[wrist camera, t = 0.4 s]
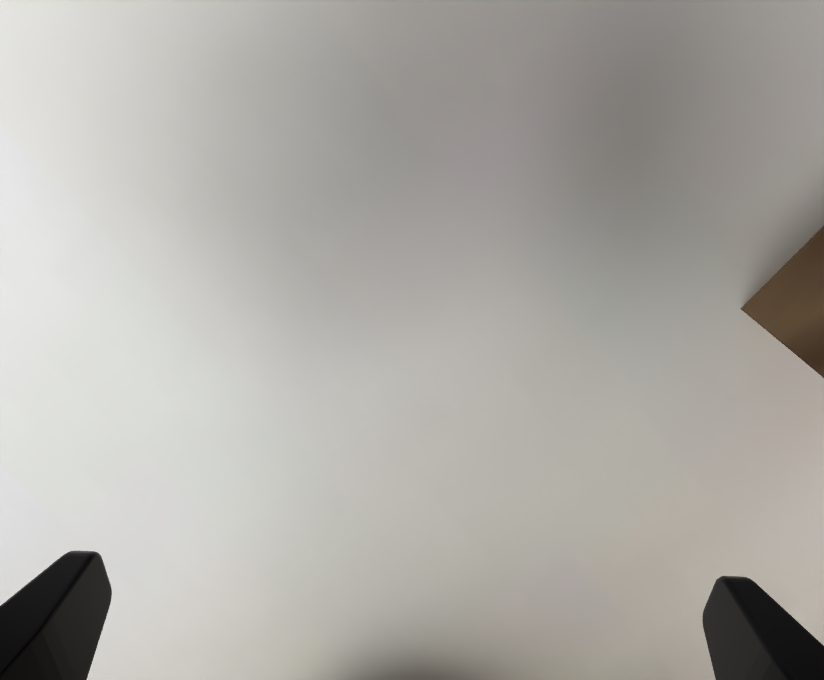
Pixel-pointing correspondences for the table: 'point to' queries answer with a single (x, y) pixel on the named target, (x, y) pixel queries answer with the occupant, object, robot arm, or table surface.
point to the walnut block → (796, 304)
